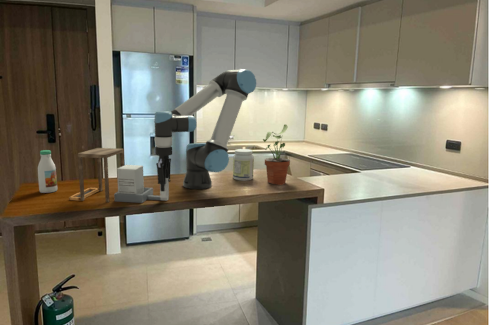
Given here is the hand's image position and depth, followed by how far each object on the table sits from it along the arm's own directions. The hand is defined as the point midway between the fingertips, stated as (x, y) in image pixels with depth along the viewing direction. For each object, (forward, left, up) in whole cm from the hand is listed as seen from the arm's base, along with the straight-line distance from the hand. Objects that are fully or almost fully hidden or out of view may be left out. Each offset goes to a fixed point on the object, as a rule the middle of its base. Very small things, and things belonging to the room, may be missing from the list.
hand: (164, 196), depth 164 cm
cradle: (+10, 0, -2) cm, 10 cm away
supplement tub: (-31, -50, -2) cm, 59 cm away
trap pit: (+39, 0, -2) cm, 39 cm away
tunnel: (+29, 0, -2) cm, 29 cm away
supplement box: (+16, +1, -2) cm, 16 cm away
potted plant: (-50, -44, -2) cm, 66 cm away
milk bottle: (+59, -3, -2) cm, 60 cm away
